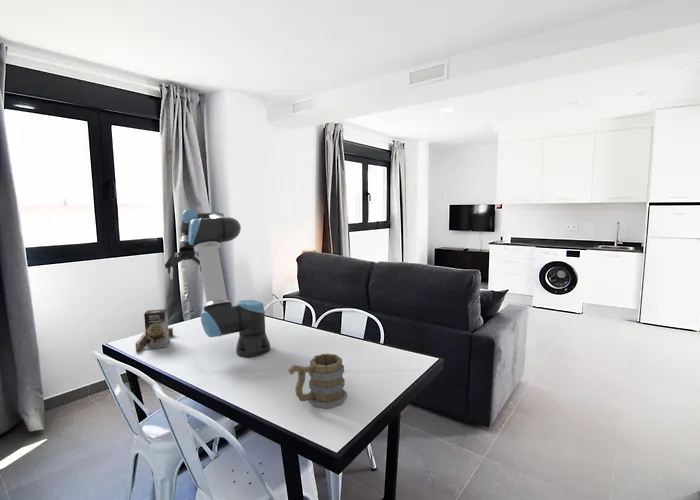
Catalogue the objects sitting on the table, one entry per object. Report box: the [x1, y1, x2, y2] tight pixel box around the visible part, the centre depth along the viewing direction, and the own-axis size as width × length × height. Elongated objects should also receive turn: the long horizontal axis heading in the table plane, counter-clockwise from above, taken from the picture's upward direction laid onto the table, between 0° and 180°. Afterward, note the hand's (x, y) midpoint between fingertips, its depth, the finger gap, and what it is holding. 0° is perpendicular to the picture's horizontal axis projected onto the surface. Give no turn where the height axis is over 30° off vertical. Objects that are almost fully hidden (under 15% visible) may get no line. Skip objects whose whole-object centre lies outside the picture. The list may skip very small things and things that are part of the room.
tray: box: [134, 327, 174, 353], centre depth 181 cm, size 19×12×4 cm
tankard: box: [287, 353, 348, 410], centre depth 124 cm, size 20×13×15 cm, turn 118°
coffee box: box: [143, 308, 170, 346], centre depth 179 cm, size 9×6×16 cm
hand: (185, 277), depth 190 cm, fingers open, 13 cm apart
